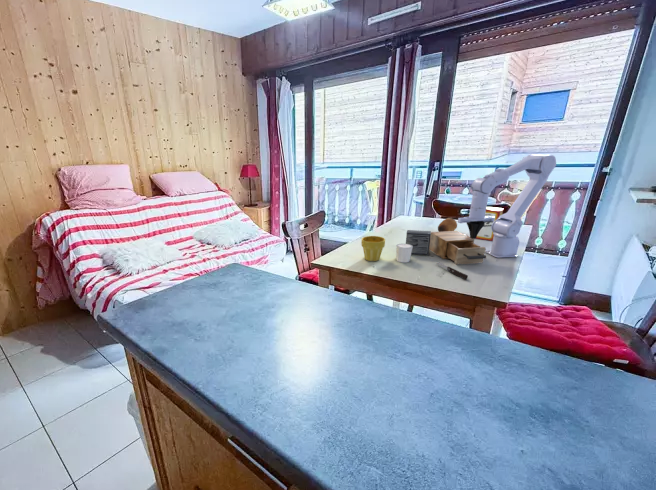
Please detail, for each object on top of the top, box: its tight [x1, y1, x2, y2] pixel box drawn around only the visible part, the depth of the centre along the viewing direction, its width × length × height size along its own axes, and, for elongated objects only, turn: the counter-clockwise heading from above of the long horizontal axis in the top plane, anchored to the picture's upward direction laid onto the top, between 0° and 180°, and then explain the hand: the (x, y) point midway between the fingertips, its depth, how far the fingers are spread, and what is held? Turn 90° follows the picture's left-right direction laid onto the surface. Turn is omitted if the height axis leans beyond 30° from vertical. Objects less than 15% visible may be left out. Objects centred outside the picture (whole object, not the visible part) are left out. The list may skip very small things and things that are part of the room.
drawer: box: [445, 241, 487, 265], centre depth 141 cm, size 18×11×7 cm, turn 1°
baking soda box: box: [475, 206, 504, 242], centre depth 168 cm, size 10×6×16 cm
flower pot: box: [360, 235, 386, 262], centre depth 151 cm, size 10×10×10 cm
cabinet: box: [429, 230, 475, 260], centre depth 152 cm, size 15×13×9 cm
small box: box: [405, 229, 432, 256], centre depth 155 cm, size 11×6×10 cm, turn 65°
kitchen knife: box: [434, 262, 469, 281], centre depth 133 cm, size 18×1×2 cm, turn 12°
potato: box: [437, 217, 458, 232], centre depth 181 cm, size 8×13×8 cm
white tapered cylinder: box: [395, 243, 413, 263], centre depth 147 cm, size 7×7×7 cm
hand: (472, 238), depth 143 cm, fingers closed
